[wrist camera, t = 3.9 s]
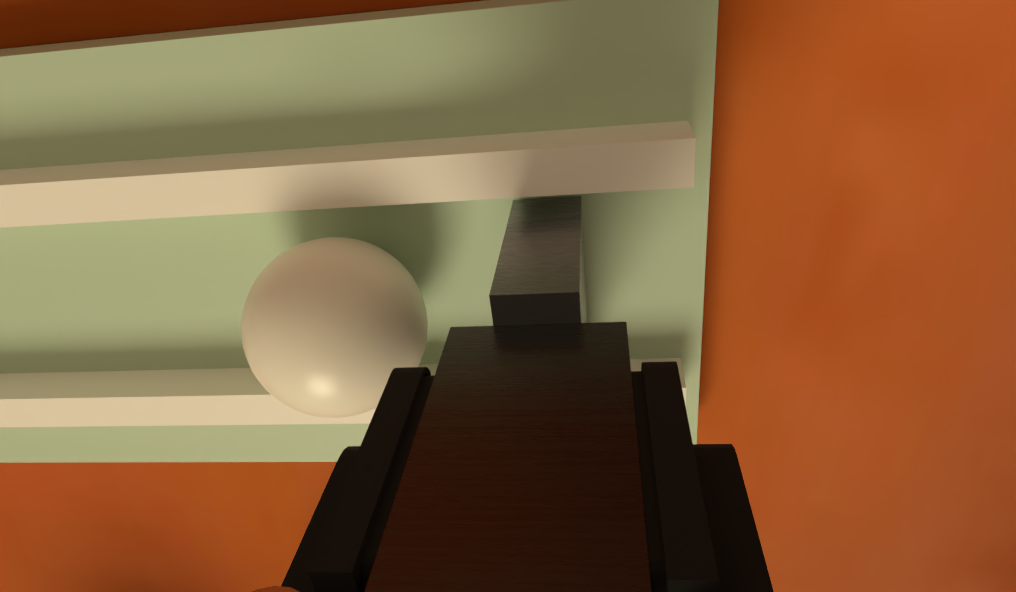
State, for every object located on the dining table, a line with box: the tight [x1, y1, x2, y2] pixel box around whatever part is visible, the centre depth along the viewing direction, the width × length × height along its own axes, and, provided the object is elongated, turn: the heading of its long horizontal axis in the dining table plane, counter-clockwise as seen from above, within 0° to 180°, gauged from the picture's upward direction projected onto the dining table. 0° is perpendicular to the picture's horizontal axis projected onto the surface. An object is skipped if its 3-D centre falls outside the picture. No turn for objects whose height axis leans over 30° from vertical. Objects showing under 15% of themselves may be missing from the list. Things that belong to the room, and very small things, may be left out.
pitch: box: [0, 0, 719, 462], centre depth 17 cm, size 22×12×3 cm, turn 96°
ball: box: [241, 237, 428, 418], centre depth 15 cm, size 4×4×4 cm
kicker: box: [365, 196, 651, 592], centre depth 12 cm, size 3×4×10 cm
